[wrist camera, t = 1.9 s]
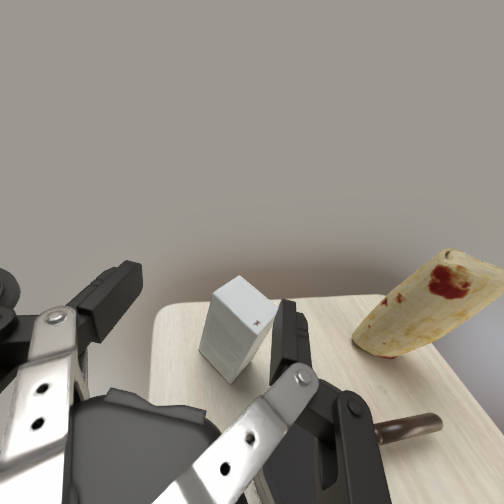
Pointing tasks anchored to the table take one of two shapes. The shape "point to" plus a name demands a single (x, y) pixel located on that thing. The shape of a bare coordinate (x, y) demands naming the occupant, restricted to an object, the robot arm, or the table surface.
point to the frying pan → (290, 469)
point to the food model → (430, 304)
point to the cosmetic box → (235, 327)
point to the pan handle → (407, 428)
